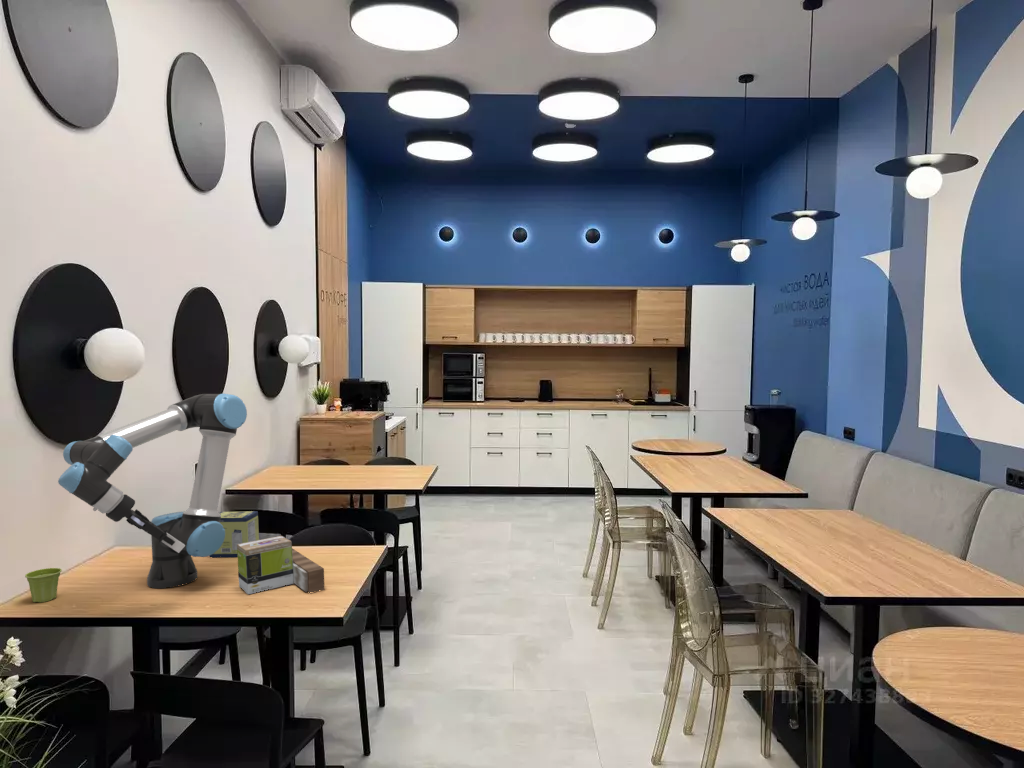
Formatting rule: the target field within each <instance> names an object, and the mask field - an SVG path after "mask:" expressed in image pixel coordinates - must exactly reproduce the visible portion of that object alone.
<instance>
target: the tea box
mask: <svg viewBox="0 0 1024 768" xmlns="http://www.w3.org/2000/svg"><path fill="white" fill-rule="evenodd" d="M292 549H293V543H292V540H290V539H288V538H287V537H285V536H283V535H278V536H273V537H268V538H262V539H259V540H257V541H252V542H247V543H241V544H237V555H238V558H237V570H238V571H237V572H238V573H237V574H238V586H239V588H240V589H241V588H242V589H243V590H244V591H245V592H244V591H243V590H242V589H241V590H242V591H243V592H244V593H245V594H247V595H253V594H256V592H257V593H261V592H264V590H265V591H269V590H272V589H276V588H282V587H285V585H286V586H290V585H295V583H294V576H293V557H292ZM268 589H269V590H268ZM260 591H261V592H260Z"/></svg>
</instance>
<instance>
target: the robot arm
mask: <svg viewBox="0 0 1024 768" xmlns="http://www.w3.org/2000/svg"><path fill="white" fill-rule="evenodd" d="M247 417H248V410H247V407H246V404H245V403H244V402H243V400H242V399H241V398H240V397H239V396H237V395H235V394H229V393H202V394H201V393H200V394H198V395H197V394H196V395H193V396H191V397H189V398H186V399H184V400H180V401H177V402H176V403H172V404H170V405H169V406H168V407H167V408H166V410H163V411H160V412H158V413H154V414H152V415H150V416H146V417H145V418H141V419H139V420H137V421H134V422H131V423H128V424H125V425H123V426H120V427H118V428H115V429H113V430H110V431H107V432H105V433H103V434H102V433H101V434H99V435H97V436H95V437H91V438H88V439H86V440H77V441H76V440H75V441H72V442H70V443H68V444H67V445H66V446H65V447H64V449H63V454H62V456H63V459H64V461H65V463H67V464H68V465H70V466H69V467H68V468H67V469H65V471H63V473H62V474H61V475H60V477H59V478H58V480H57V483H58V485H59V486H61V487H62V488H63V489H64V490H66V491H67V492H69V493H68V494H72V495H73V496H75V497H76V498H78V499H80V500H81V501H83V502H85V503H86V504H88V505H89V506H90V507H92V510H93V511H94V512H96V511H99V512H100V513H102V514H105V517H107V518H109V519H110V520H112V521H113V522H115V523H118V522H120V521H122V520H123V518H126V520H125V521H126V523H128V524H129V525H131V526H134V527H136V528H137V529H139V530H142V531H144V532H145V533H147V534H148V535H150V536H151V539H150V540H151V556H152V558H151V559H152V562H151V564H150V568H149V572H148V575H147V577H146V585H148V586H149V587H148V586H147V587H148V588H151V587H152V589H167V588H166V587H170V588H174V587H173V586H176V587H179V586H178V585H181V586H183V585H182V584H185V585H187V584H186V583H188V584H190V583H192V582H194V581H196V580H197V579H198V570H197V569H198V568H197V566H196V565H195V562H194V560H193V558H196V557H199V558H200V557H201V558H206V557H209V556H210V555H212V554H214V553H215V552H216V551H217V550H218V549H219V548H220V547H221V545H222V544H223V542H224V539H225V529H224V528H223V525H222V524H220V519H221V515H220V514H219V513H220V511H218V508H219V503H220V497H221V493H222V486H223V479H224V474H225V470H226V464H227V459H228V458H227V457H228V453H229V448H230V442H231V440H232V438H235V436H237V430H238V428H240V427H242V426H243V425H244V424H245V422H246V420H247ZM192 428H199V429H198V431H199V433H200V434H201V435H202V439H201V440H202V441H201V443H200V449H199V454H198V459H197V465H196V470H195V475H194V481H193V487H192V490H191V496H190V501H189V506H188V508H187V509H186V510H183V511H177V512H171V513H170V512H169V513H165V514H161V515H157V516H154V517H153V518H152V519H151V520H149V519H148V517H147V516H146V515H144V514H143V513H142V512H141V511H140V510H138V509H135V510H133V507H134V506H135V505H136V500H135V499H134V498H132V497H131V496H129V495H128V494H124V491H122V490H120V489H119V488H118V487H116V486H115V485H113V484H112V483H110V482H108V479H109V478H110V477H111V476H112V475H113V474H114V473H115V471H117V470H118V468H119V467H120V466H121V465H122V464H123V463H124V462H125V460H127V459H128V457H129V456H130V455H131V453H132V452H133V450H134V448H136V447H139V446H141V445H143V444H146V443H149V442H151V441H153V440H155V439H159V438H161V437H163V436H166V435H168V434H171V433H174V432H175V431H178V432H183V431H186V430H188V429H192ZM196 578H197V579H196ZM195 579H196V580H195ZM193 580H194V581H193ZM191 581H192V582H191ZM189 582H190V583H189Z"/></svg>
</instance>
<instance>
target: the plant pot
mask: <svg viewBox="0 0 1024 768" xmlns="http://www.w3.org/2000/svg"><path fill="white" fill-rule="evenodd" d="M62 571H63V569H62V568H59V567H48V568H41V569H36V570H33V571H30V572H27V573H26V574H25V575H24V578H26V581H27V583H28V586H29V591H30V595H31V600H32V602H33V603H44V602H45V603H46V602H49V601H52V600H53V599H56V598H57V593H58V585H59V580H60V579H59V577H60V575H61V573H62Z"/></svg>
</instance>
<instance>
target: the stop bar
mask: <svg viewBox="0 0 1024 768" xmlns="http://www.w3.org/2000/svg"><path fill="white" fill-rule="evenodd" d="M292 557H293V576H294V585H296V586H297V587H299V588H300V589H301V590H302V591H304V592H305V593H308V592H309V593H310V592H314V591H318V592H320V591H319V590H322V591H325V567H323V566H320V565H319V564H318V563H316V562H314V560H311V559H310V558H308V557H306V556H305V555H303V554H302V553H300V552H298V551H297V550H295V549H294V548H292ZM307 591H308V592H307ZM309 593H308V594H309ZM314 593H315V592H314ZM310 594H311V593H310Z"/></svg>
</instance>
